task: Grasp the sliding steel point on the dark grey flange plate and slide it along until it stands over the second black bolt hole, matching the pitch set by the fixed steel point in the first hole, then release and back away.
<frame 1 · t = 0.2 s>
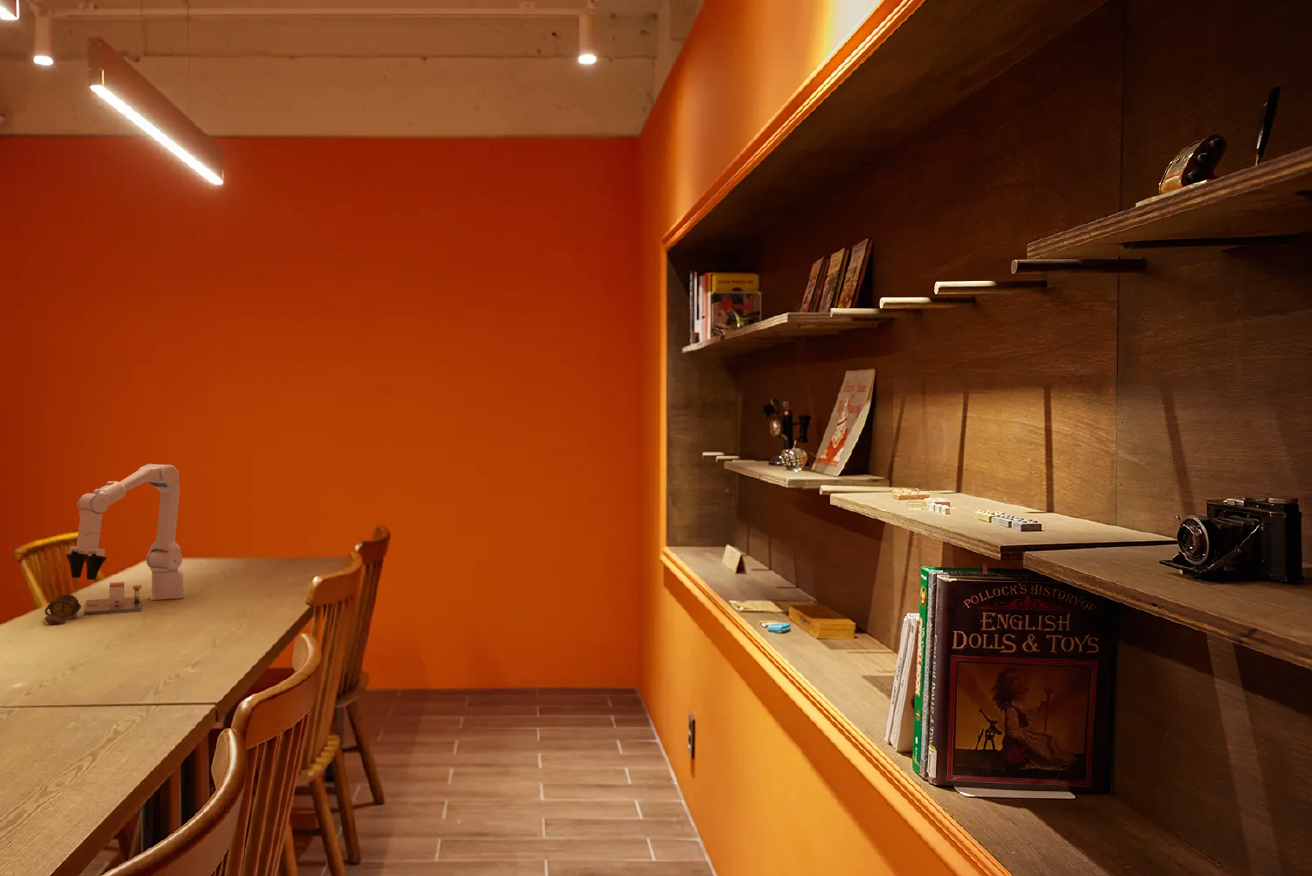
hand: (83, 578, 290), 11 cm above the table, fingers open, 7 cm apart
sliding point: (116, 593, 301), point 4 cm above the table, slide at 0.0 cm
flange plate: (113, 607, 301), on the table
dark brown rounded piece: (59, 621, 281), on the table
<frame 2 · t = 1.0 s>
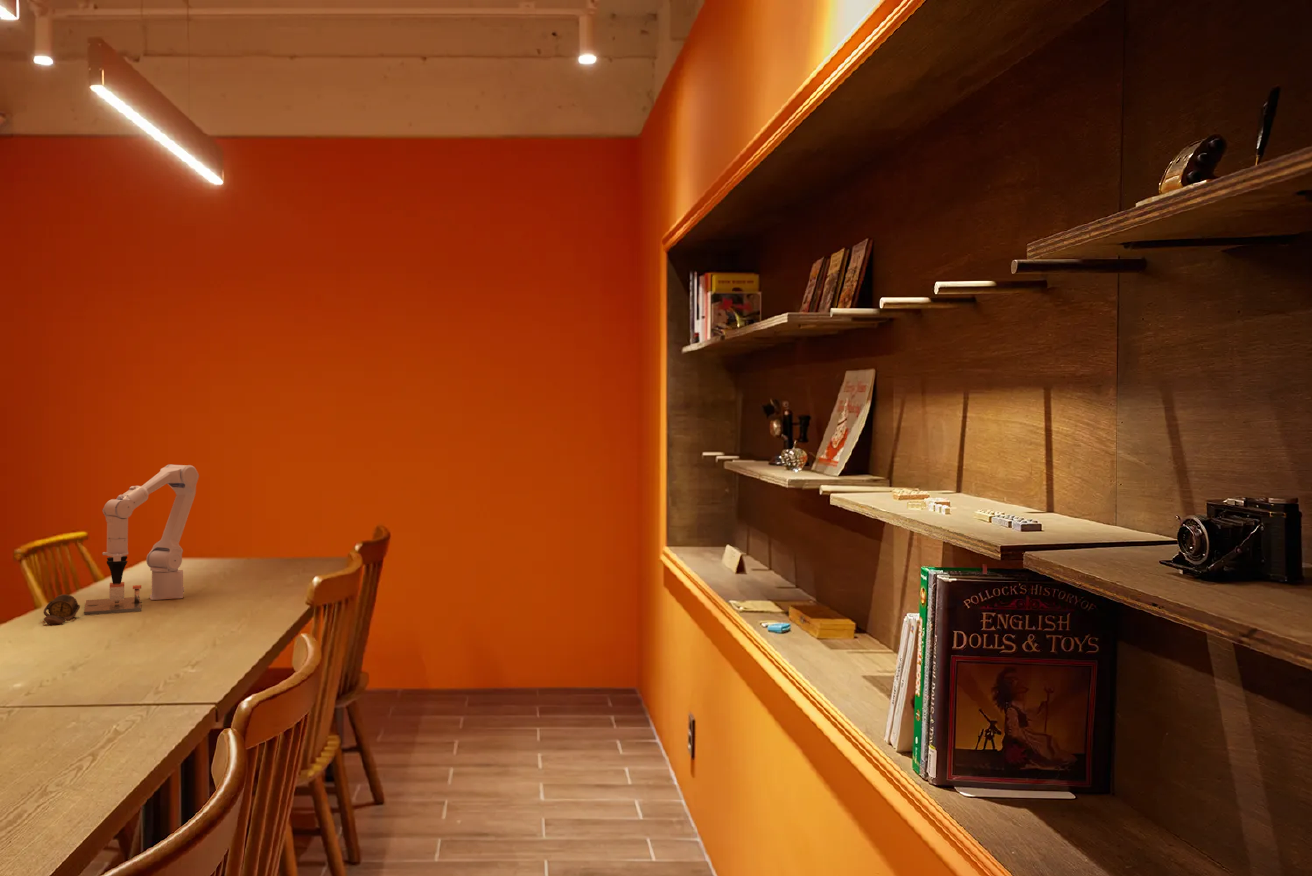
hand: (116, 581, 301), 8 cm above the table, fingers open, 7 cm apart
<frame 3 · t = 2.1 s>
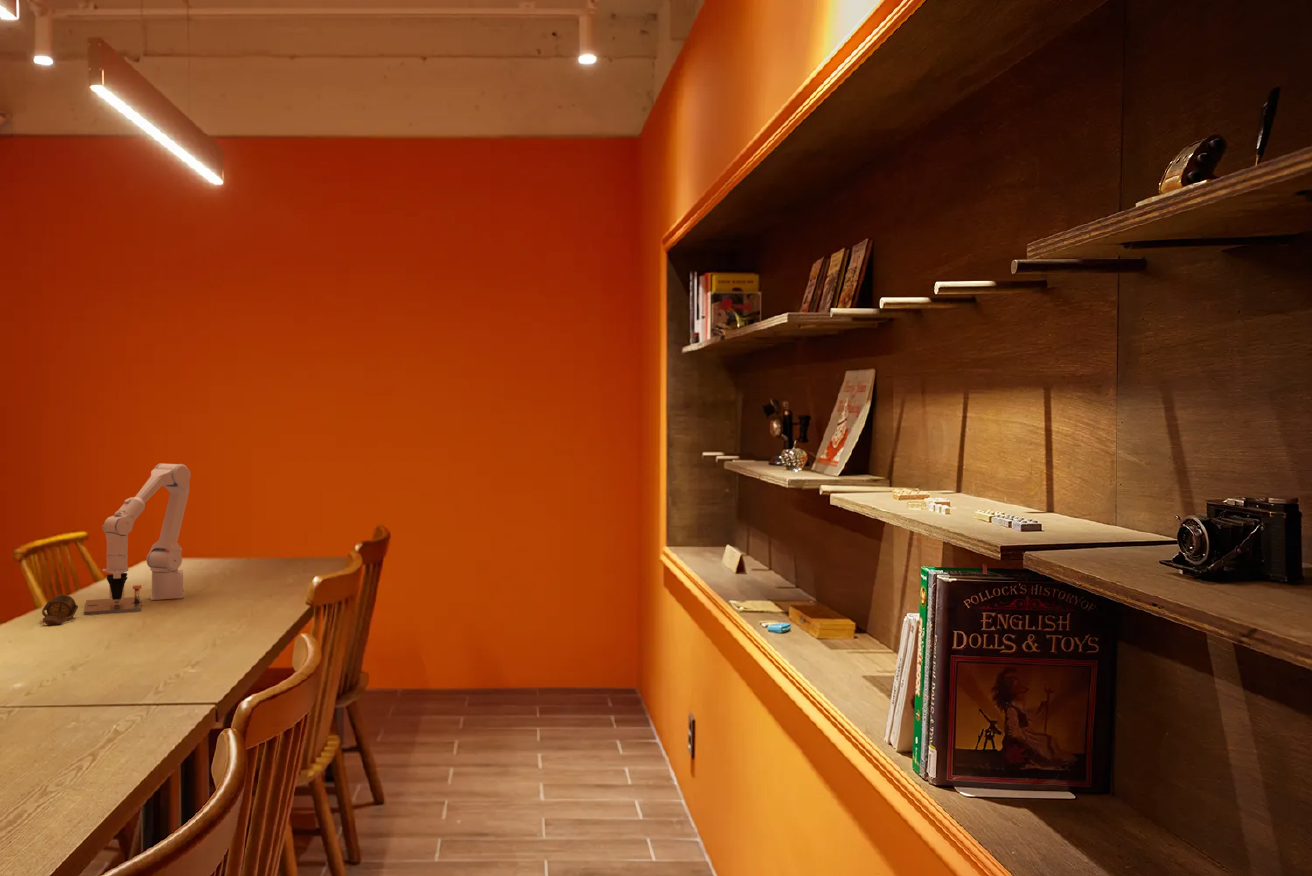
hand: (116, 598, 301), 3 cm above the table, fingers closed on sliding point, 4 cm apart
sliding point: (116, 593, 301), point 4 cm above the table, slide at 0.0 cm, touching gripper
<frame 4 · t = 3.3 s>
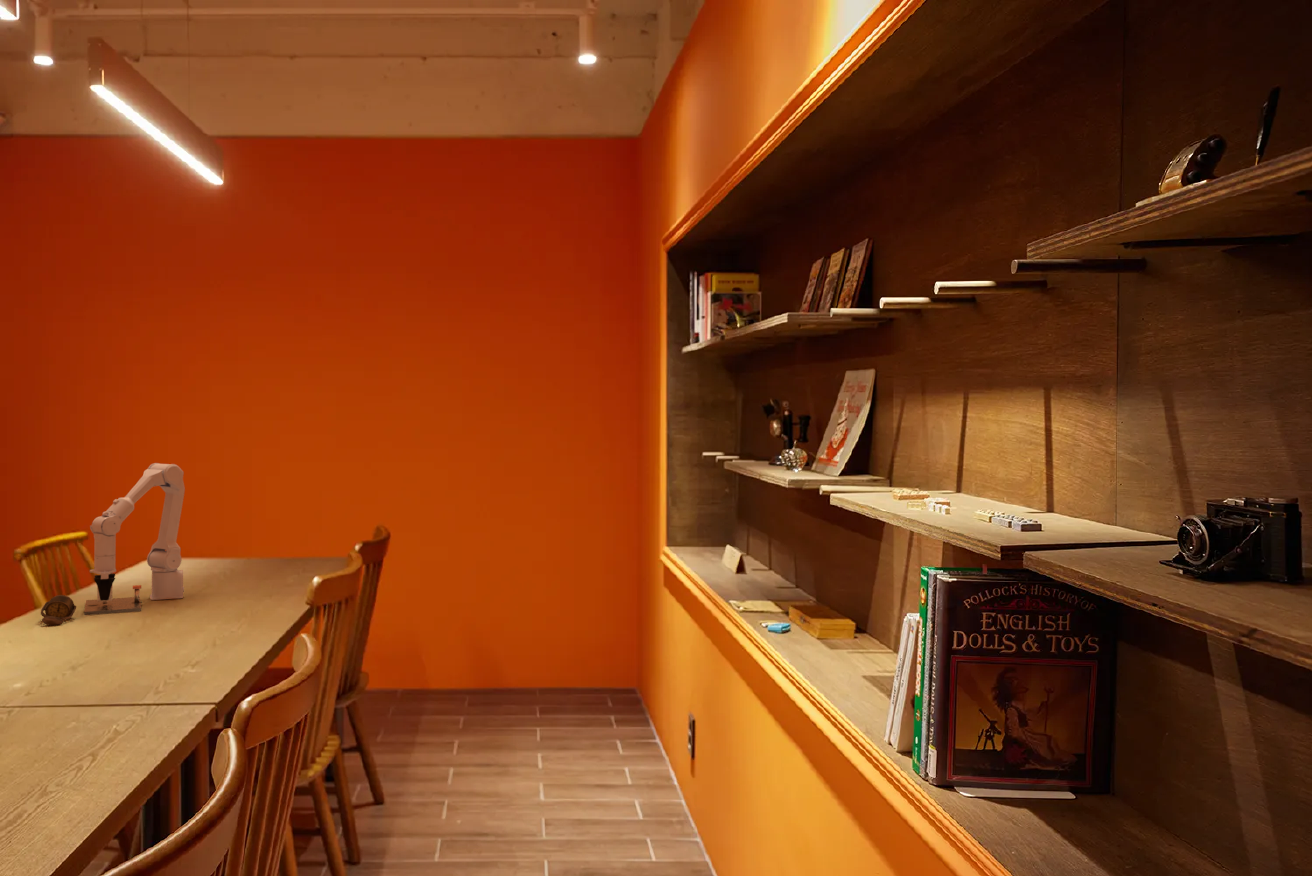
hand: (104, 598, 300), 3 cm above the table, fingers closed on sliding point, 4 cm apart
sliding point: (104, 593, 300), point 4 cm above the table, slide at 3.3 cm, touching gripper
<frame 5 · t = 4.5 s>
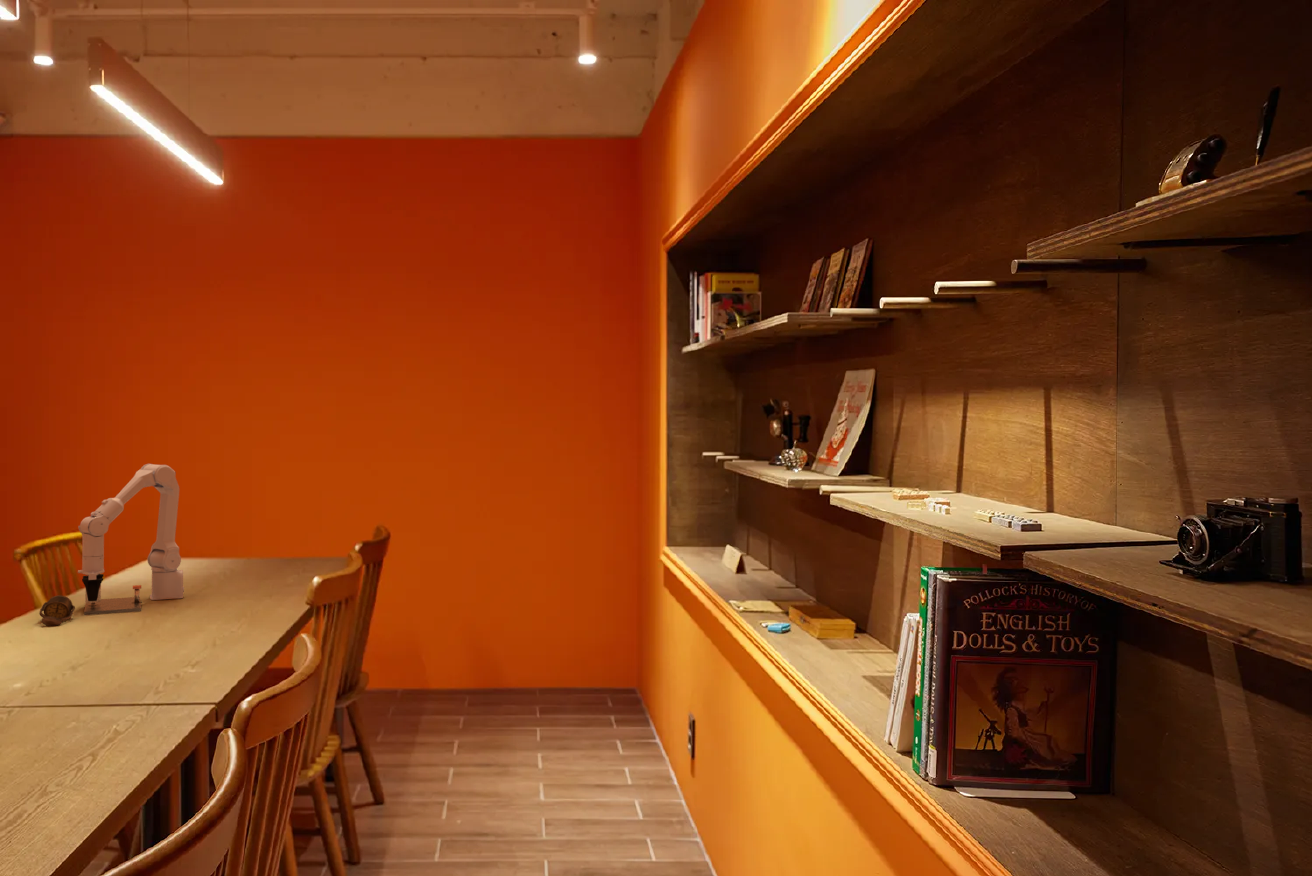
hand: (92, 599, 298), 3 cm above the table, fingers open, 4 cm apart
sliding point: (93, 594, 298), point 4 cm above the table, slide at 6.4 cm
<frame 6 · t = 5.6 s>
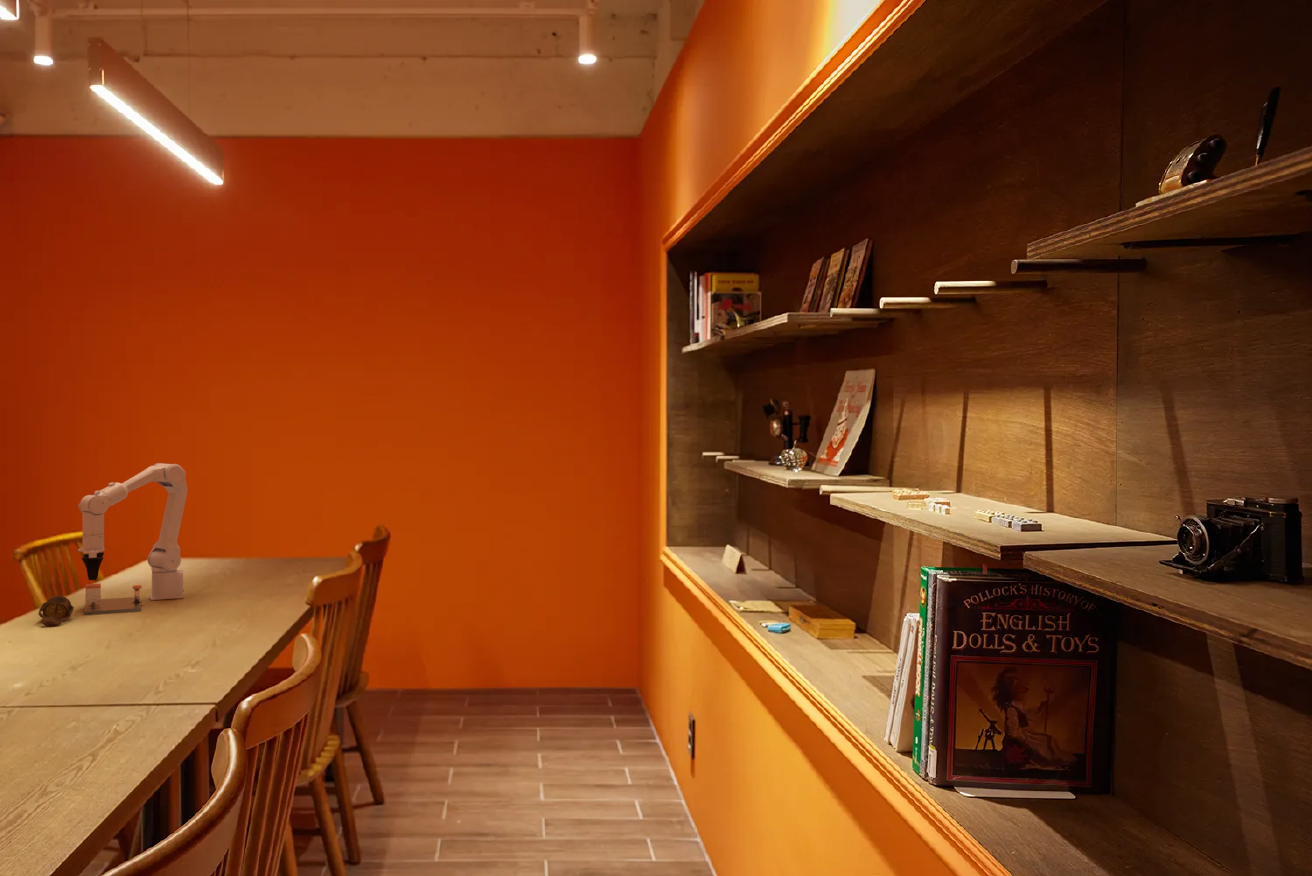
hand: (93, 578, 298), 9 cm above the table, fingers open, 7 cm apart
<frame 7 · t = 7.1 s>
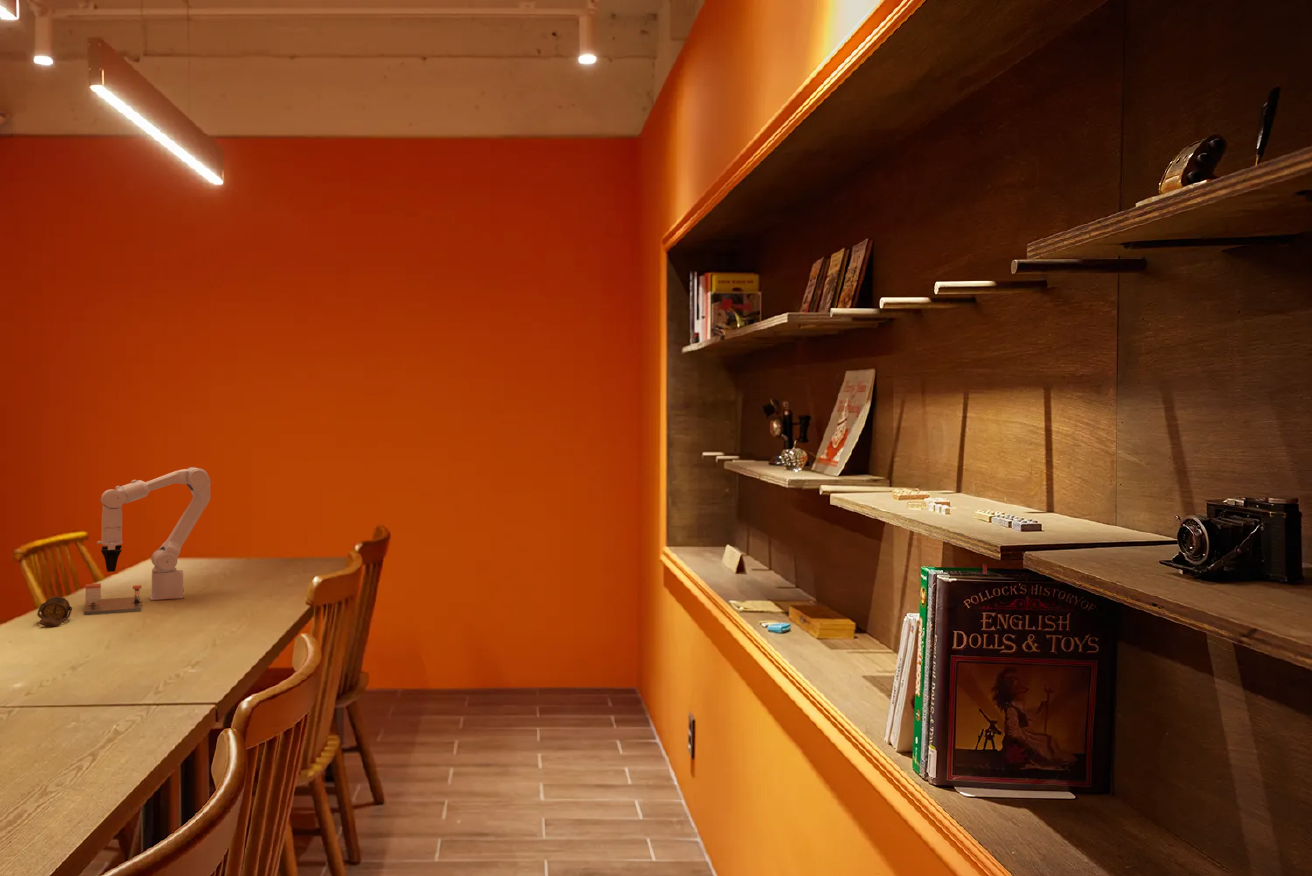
hand: (111, 569, 308), 10 cm above the table, fingers open, 7 cm apart
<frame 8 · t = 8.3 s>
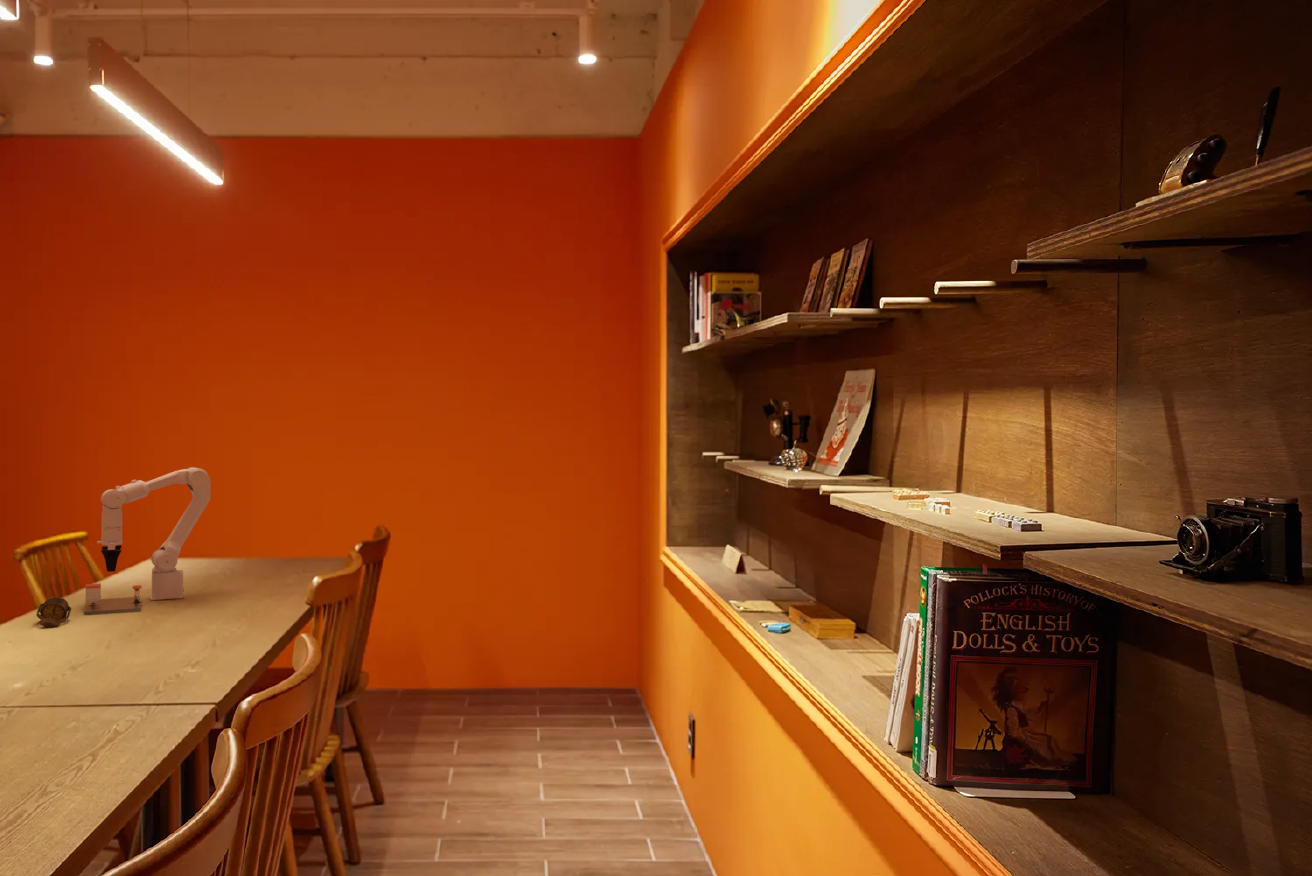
hand: (111, 569, 308), 10 cm above the table, fingers open, 7 cm apart
at the end: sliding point slide at 6.4 cm; the gripper is holding nothing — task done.
